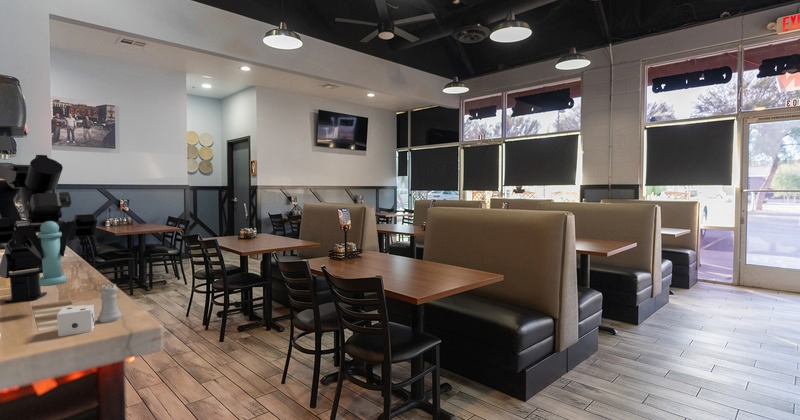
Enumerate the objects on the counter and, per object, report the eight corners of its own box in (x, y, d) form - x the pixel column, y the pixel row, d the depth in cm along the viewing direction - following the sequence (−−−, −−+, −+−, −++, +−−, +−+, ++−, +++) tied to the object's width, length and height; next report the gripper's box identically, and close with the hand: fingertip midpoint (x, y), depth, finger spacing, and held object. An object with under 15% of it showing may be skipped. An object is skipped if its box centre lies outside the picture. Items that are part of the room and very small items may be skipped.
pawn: (45, 282, 94) (41, 220, 93) (69, 280, 95) (66, 219, 94) (35, 286, 89) (31, 222, 89) (61, 285, 91) (57, 221, 90)
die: (63, 333, 81) (62, 307, 80) (95, 328, 83) (94, 303, 83) (58, 341, 76) (56, 314, 76) (92, 336, 79) (90, 309, 78)
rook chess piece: (110, 327, 83) (107, 288, 83) (91, 326, 84) (89, 287, 84) (128, 320, 87) (126, 283, 87) (111, 319, 88) (108, 282, 88)
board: (32, 309, 97) (32, 305, 97) (70, 303, 102) (70, 299, 102) (38, 334, 80) (38, 330, 79) (84, 325, 84) (84, 322, 84)
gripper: (-16, 180, 86) (-5, 237, 80) (93, 180, 101) (109, 228, 94) (-18, 216, 92) (-7, 272, 85) (85, 211, 106) (101, 259, 100)
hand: (52, 256), depth 91 cm, fingers closed on pawn, 3 cm apart
